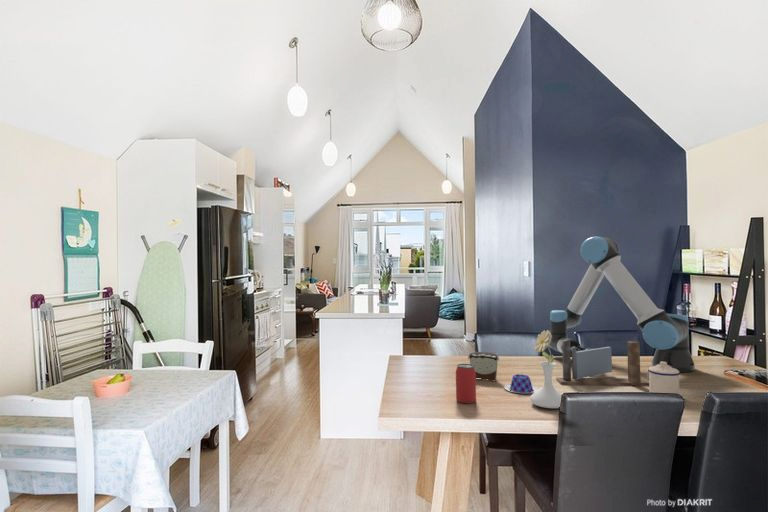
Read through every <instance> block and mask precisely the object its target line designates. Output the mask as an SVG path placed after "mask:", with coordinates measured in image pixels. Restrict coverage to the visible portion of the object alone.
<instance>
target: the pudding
mask: <svg viewBox="0 0 768 512" xmlns="http://www.w3.org/2000/svg"><path fill="white" fill-rule="evenodd" d="M508 387H510V390H511V391H510V390H509V389H508ZM504 389H505V390H506V391H509V392H511V393H515V394H516V393H517V394H518V393H519V394H524V395H525V394H534V393H535V392H536V391H538V390H539V389H540V388H539V387H537V386H534V385H533V384H532V382H531V378H530V376H529V375H526V374H520V373H518V374H514V375H512V378H511V383H509V384H507V385H504ZM512 390H513V391H512ZM533 390H534V391H533Z"/></svg>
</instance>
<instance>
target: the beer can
mask: <svg viewBox="0 0 768 512" xmlns="http://www.w3.org/2000/svg"><path fill="white" fill-rule="evenodd" d="M476 382H477V379H476V373H475V369H474V366H473V365H471V364H470V363H458V364H457V365H456V370H455V397H456V399H455V400H456V401H457V402H458V403H459V404H465V403H466V404H468V405H469V403H470V404H473V403H475V402H476V401H477V386H476V385H477V383H476ZM466 404H465V405H466Z"/></svg>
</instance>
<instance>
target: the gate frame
mask: <svg viewBox="0 0 768 512" xmlns="http://www.w3.org/2000/svg"><path fill="white" fill-rule="evenodd" d="M626 345H627V347H626V348H627V349H626V350H627V352H626V353H627V377H626V378H625V377H624V378H623V377H621V378H619V377H616V378H615V377H584V378H578V379H572V357H570V341H569V340H562V353H561V354H562V377H556V379H555V380H556V381H557V382H558V383H559V385H561V384H566V385H567V386H569V385H570V386H571V385H572V386H574V385H576V386H579V385H580V386H581V385H582V386H631V385H635V386H634V387H641V385H649V382H648V380H646V379H645V378H641V356H640V355H641V352H640V351H641V350H640V349H641V348H640V345H641V344H640V342H639V341H633V340H632V341H631V340H630V341H629V340H627V342H626Z"/></svg>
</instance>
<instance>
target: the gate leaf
mask: <svg viewBox="0 0 768 512" xmlns="http://www.w3.org/2000/svg"><path fill="white" fill-rule="evenodd" d="M612 358H613V357H612V347H611V346H605V347H599V348H592V349H590V350H584V351H577V352H576V347H572V357H571V378H572V379H578V378H590V377H592V376H597V375H604V374H608V373H612V372H613V362H612V361H613V360H612Z"/></svg>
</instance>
